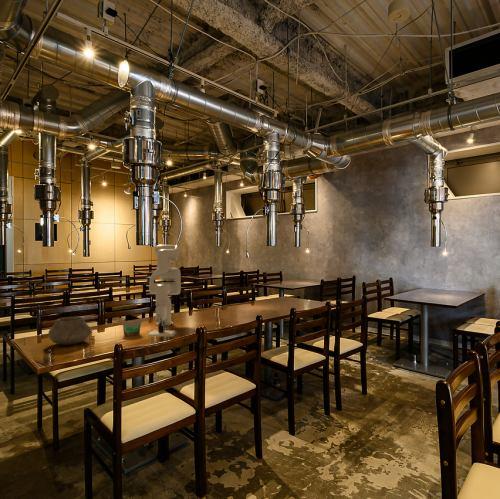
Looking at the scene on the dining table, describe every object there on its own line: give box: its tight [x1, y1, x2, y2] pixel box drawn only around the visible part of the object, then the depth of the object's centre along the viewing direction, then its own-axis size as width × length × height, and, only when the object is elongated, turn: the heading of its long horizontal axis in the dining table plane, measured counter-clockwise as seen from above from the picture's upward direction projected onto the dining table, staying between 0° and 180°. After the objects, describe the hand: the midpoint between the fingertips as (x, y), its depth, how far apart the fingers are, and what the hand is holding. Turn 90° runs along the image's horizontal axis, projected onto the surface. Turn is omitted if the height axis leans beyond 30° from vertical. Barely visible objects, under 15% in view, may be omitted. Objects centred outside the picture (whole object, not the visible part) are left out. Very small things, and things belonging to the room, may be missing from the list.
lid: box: [147, 324, 176, 337], centre depth 215 cm, size 10×15×6 cm, turn 88°
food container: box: [121, 319, 142, 337], centre depth 211 cm, size 12×6×10 cm, turn 105°
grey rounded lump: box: [47, 316, 92, 346], centre depth 195 cm, size 22×21×15 cm
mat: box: [146, 331, 177, 338], centre depth 215 cm, size 13×17×1 cm
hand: (161, 331), depth 215 cm, fingers closed on lid, 3 cm apart
